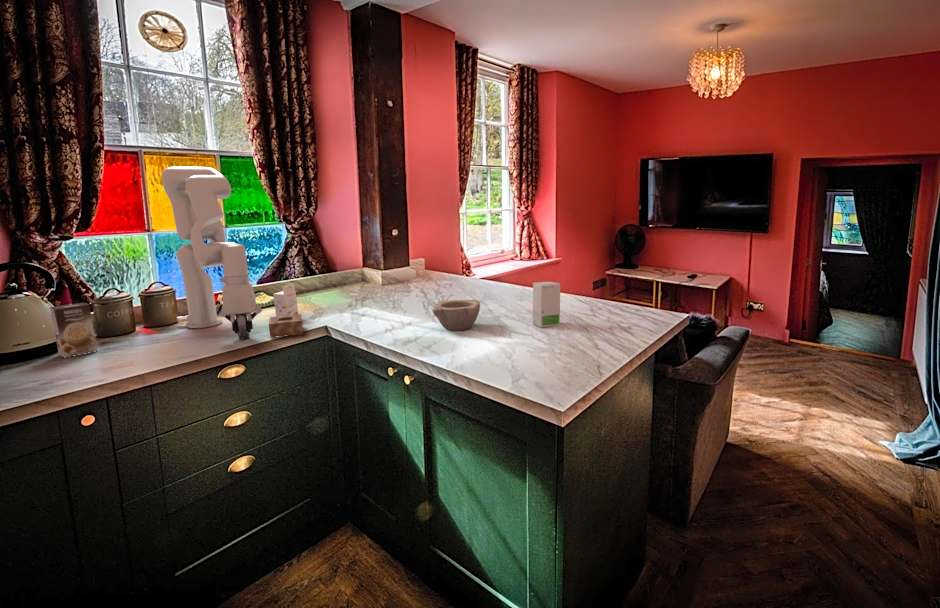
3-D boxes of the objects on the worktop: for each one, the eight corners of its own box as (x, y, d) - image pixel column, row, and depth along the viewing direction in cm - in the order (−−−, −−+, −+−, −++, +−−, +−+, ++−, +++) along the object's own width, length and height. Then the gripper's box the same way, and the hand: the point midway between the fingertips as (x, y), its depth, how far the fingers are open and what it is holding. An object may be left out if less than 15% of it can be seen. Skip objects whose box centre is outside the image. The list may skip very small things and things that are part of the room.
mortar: (439, 321, 190) (438, 298, 188) (482, 321, 188) (482, 298, 186) (430, 334, 174) (429, 308, 172) (478, 334, 171) (477, 308, 169)
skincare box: (540, 328, 177) (540, 285, 173) (531, 324, 183) (531, 282, 179) (560, 325, 180) (561, 283, 176) (551, 321, 186) (551, 280, 182)
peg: (237, 339, 171) (234, 311, 169) (238, 337, 175) (235, 309, 172) (249, 338, 172) (245, 310, 170) (249, 335, 176) (246, 308, 173)
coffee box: (63, 359, 156) (53, 309, 152) (58, 355, 160) (48, 307, 156) (98, 351, 163) (89, 304, 159) (93, 348, 167) (83, 301, 163)
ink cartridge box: (287, 317, 203) (284, 282, 199) (298, 318, 202) (295, 282, 198) (275, 323, 194) (271, 286, 191) (287, 323, 193) (283, 286, 190)
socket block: (270, 337, 174) (268, 324, 173) (271, 330, 184) (270, 317, 183) (303, 334, 177) (301, 320, 176) (302, 326, 187) (301, 314, 186)
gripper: (208, 284, 163) (215, 337, 167) (262, 280, 168) (268, 332, 172) (211, 280, 170) (218, 331, 174) (263, 277, 175) (269, 326, 179)
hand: (243, 331), depth 173 cm, fingers closed on peg, 3 cm apart
